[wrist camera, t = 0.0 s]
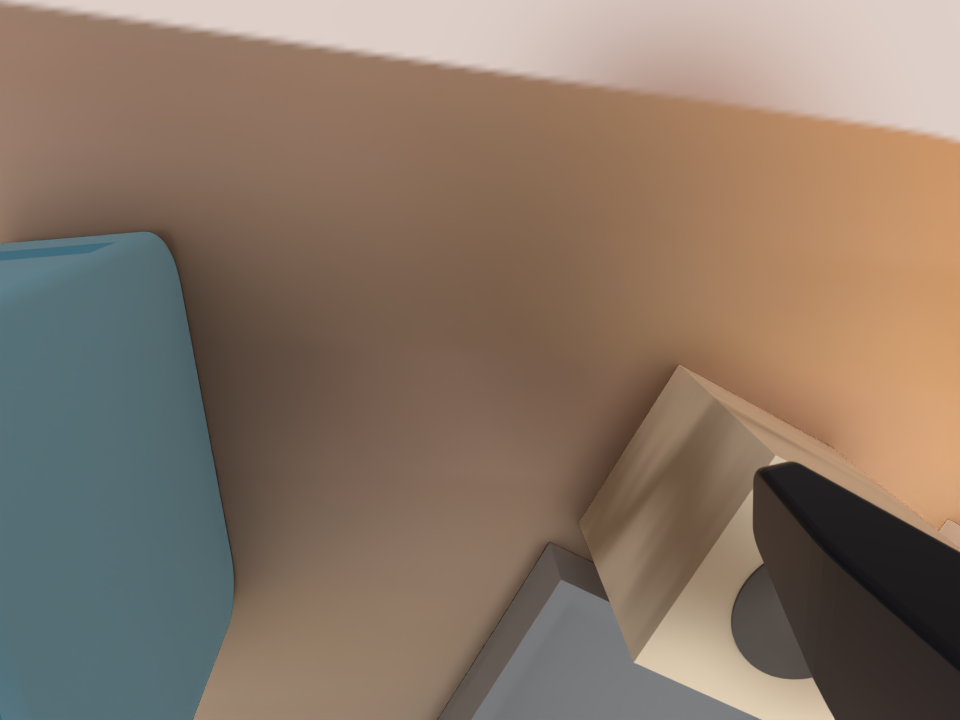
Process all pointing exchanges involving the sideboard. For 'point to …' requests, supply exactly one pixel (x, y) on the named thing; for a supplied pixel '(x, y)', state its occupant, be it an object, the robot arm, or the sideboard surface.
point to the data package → (104, 487)
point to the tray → (570, 659)
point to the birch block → (710, 547)
